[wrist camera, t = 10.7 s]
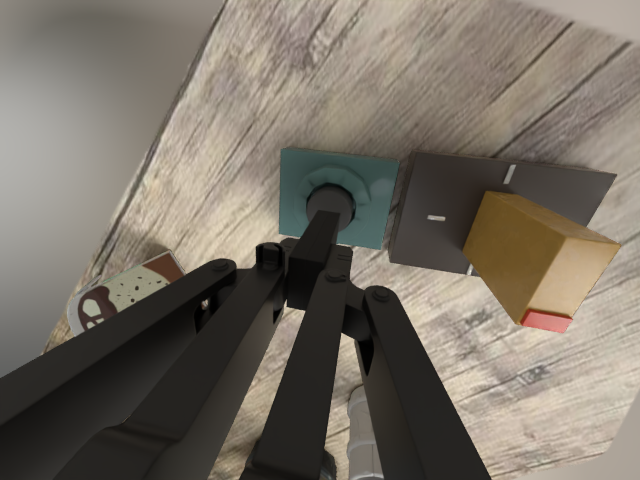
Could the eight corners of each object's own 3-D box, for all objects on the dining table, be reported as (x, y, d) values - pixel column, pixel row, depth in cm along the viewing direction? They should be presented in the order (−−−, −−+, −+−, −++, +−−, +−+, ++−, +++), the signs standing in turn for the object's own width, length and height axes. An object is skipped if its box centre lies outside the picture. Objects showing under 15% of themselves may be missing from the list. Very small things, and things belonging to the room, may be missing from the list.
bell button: (355, 188, 20) (354, 194, 19) (349, 229, 22) (347, 237, 20) (312, 183, 21) (307, 187, 19) (308, 223, 22) (304, 230, 21)
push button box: (397, 159, 22) (402, 166, 19) (379, 240, 26) (381, 259, 22) (287, 146, 23) (273, 151, 20) (285, 226, 27) (272, 241, 23)
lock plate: (590, 168, 20) (620, 174, 18) (533, 273, 25) (551, 289, 22) (411, 148, 22) (417, 152, 19) (387, 250, 26) (389, 263, 24)
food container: (127, 252, 32) (35, 301, 23) (163, 239, 30) (77, 287, 21) (181, 325, 36) (120, 391, 27) (214, 317, 35) (161, 385, 26)
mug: (341, 383, 36) (331, 495, 25) (430, 378, 33) (461, 504, 22) (355, 418, 38) (350, 532, 28) (438, 416, 35) (469, 545, 25)
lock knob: (485, 190, 20) (570, 238, 12) (518, 194, 20) (628, 247, 11) (461, 251, 22) (517, 328, 14) (490, 256, 22) (564, 336, 14)
